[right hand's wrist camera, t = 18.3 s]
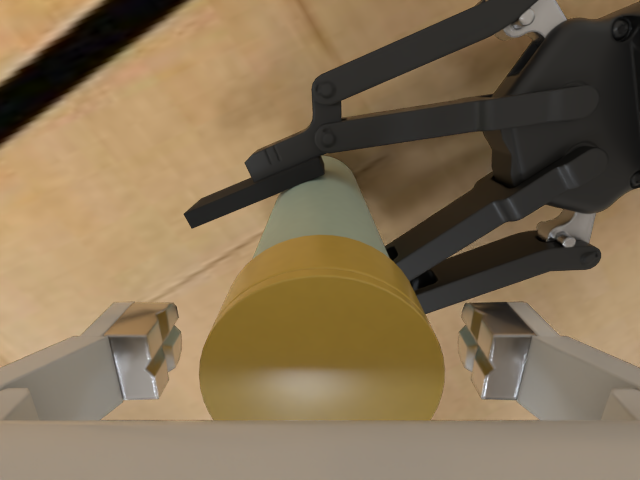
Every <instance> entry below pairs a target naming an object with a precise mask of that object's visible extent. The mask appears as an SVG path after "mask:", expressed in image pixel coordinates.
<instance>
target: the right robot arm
mask: <svg viewBox="0 0 640 480" xmlns="http://www.w3.org/2000/svg"><path fill="white" fill-rule="evenodd" d="M178 318H179V317H178V311H177V306H176V305H175V304H174V303H162V302H115V303H113V304H112V305H111V306H110V307H109V308H108V309H107V310H106V311H105V312H104V313H103V314H102V315H101V316H100V317H99V318H98V319H97V320H95V321H94V322H93V323H92V324H91V325H90V326H89V327H88V328H87V329H86V330H85V331H84V332H83V333H82V334H81V335H80V336H73V337H70V338H68V339H66V340H63V341H61V342H59V343H56V344H54V345H52V346H49V347H47V348H45V349H42V350H40V351H38V352H36V353H33V354H31V355H29V356H26V357H24V358H22V359H19V360H17V361H15V362H12V363H10V364H8V365H5V366H3V367H1V368H0V480H640V368H639V367H637V366H634V365H632V364H630V363H627V362H625V361H623V360H621V359H618V358H616V357H614V356H611V355H609V354H607V353H604V352H602V351H600V350H597V349H595V348H593V347H591V346H588V345H586V344H584V343H581V342H579V341H577V340H574V339H572V338H570V337H567V336H560V335H559V334H558V333H557V332H556V331H555V330H554V329H553V328H552V327H551V326H550V325H549V324H548V323H547V322H546V321H545V320H544V319H543V318H542V317H541V316H540V315H539V314H538V313H536V312H535V311H534V310H533V309H532V308H531V307H530V306H529V305H528V304H527V303H525V302H490V303H466V304H465V305H464V307H463V311H462V316H461V318H462V319H463V321H464V322H465V324H466V325H465V326H464V327H463V328H462V329H461V330H460V331H459V337H458V351H459V356H460V359H461V362H462V364H463V366H464V367H465V368H466V369H468V370H469V371H471V372H472V376H471V381H472V383H473V384H474V386H475V388H476V390H477V392H478V394H479V396H480V397H481V399H496V400H517V402H518V403H519V404H520V405H522V406H523V407H524V408H525V409H527V410H528V411H529V412H531V413H532V414H533V415H534V416H536V417H537V418H538V419H540V420H101V419H102V418H103V417H104V416H106V415H107V414H108V413H110V412H111V411H112V410H113V409H115V408H116V407H117V406H119V405H120V404H121V403H122V402H123V400H143V399H159V397H160V396H161V394H162V392H163V390H164V388H165V386H166V384H167V383H168V381H169V376H168V372H169V371H171V370H172V369H174V368H175V367H176V366H177V364H178V362H179V360H180V355H181V351H182V336H181V331H180V330H179V329H178V328H177V327H176V326H175V325H174V324H175V322H176V321H177V319H178Z"/></svg>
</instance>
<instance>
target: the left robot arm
mask: <svg viewBox="0 0 640 480" xmlns="http://www.w3.org/2000/svg"><path fill="white" fill-rule="evenodd" d="M494 34H495V36H496V37H497V38H498V39H500V40H504V41H506V40H511V39H514V38H518V37H521V36H523V35H526V36H528V37H530V38H531V39H532V40H533V41H532V42H531V43H530V45H529V46H528V48H527V49H526V50H525V52H524V53H523V54H522V56H521V57H520V58H519V60H518V61H517V63H516V64H515V65H514V67H513V68H512V69H511V71H510V72H509V74H508V75H507V76H506V78H505V79H504V80H503V82H502V83H501V85H500V86H499V87H498V89H497V90H496V91H495V93H494V94H488V95H482V96H476V97H469V98H463V99H458V100H454V101H448V102H441V103H435V104H428V105H422V106H415V107H409V108H403V109H396V110H390V111H383V112H377V113H370V114H364V115H358V116H351V117H345V118H341V100H344V99H346V98H348V97H351V96H353V95H355V94H358V93H360V92H362V91H365V90H367V89H369V88H372V87H374V86H376V85H379V84H381V83H383V82H386V81H388V80H390V79H393V78H395V77H397V76H400V75H402V74H404V73H406V72H409V71H411V70H413V69H416V68H418V67H420V66H423V65H425V64H427V63H430V62H432V61H434V60H437V59H439V58H441V57H444V56H446V55H448V54H451V53H453V52H455V51H458V50H460V49H462V48H465V47H467V46H469V45H472V44H474V43H476V42H478V41H481V40H483V39H485V38H488V37H490V36H492V35H494ZM312 106H313V119H312V122H311V124H310V125H309V126H308V127H307V128H306V129H304V130H303V131H300V132H298V133H296V134H293V135H291V136H289V137H286V138H284V139H282V140H279V141H277V142H275V143H272V144H270V145H268V146H265V147H263V148H261V149H258V150H257V151H256V152H255V153H253V154H252V155H251V156H250V157H249V158H248V160H247V161H246V162H245V165H246V167H247V169H248V171H249V173H250V175H251V177H252V178H249V179H247V180H244V181H242V182H240V183H237V184H235V185H232V186H230V187H228V188H225V189H223V190H221V191H218V192H216V193H213V194H211V195H209V196H206V197H204V198H201V199H200V200H199V201H198V202H197V203H196V204H194V205H193V206H192V207H191V208H190V209H189V210H188V211H186V212H185V213H184V216H185V217H186V219H187V221H188V223H189V225H190V226H191V228H195V227H197V226H200V225H202V224H204V223H207V222H209V221H212V220H214V219H217V218H219V217H222V216H224V215H226V214H229V213H231V212H234V211H236V210H239V209H241V208H244V207H246V206H249V205H251V204H253V203H256V202H258V201H261V200H263V199H266V198H268V197H271V196H273V195H275V194H278V193H280V192H283V191H285V190H288V189H290V188H293V187H295V186H297V185H300V184H302V183H305V182H307V181H310V180H312V179H315V178H317V177H319V176H322V175H324V174H325V167H324V162H323V159H322V157H321V155H324V154H326V153H335V152H342V151H348V150H355V149H362V148H368V147H375V146H382V145H388V144H395V143H402V142H408V141H415V140H421V139H428V138H435V137H441V136H448V135H455V134H461V133H468V132H475V131H483V133H484V136H485V138H486V140H487V141H488V143H489V145H490V146H491V148H492V169H493V172H491V173H489V174H488V175H486V176H485V177H483V178H482V179H480V180H479V181H478V182H477V183H476V184H475V186H474V188H473V189H472V190H471V191H469V192H468V193H466V194H464V195H463V196H461V197H460V198H458V199H457V200H455V201H454V202H452V203H451V204H449V205H448V206H446V207H445V208H443V209H441V210H440V211H438V212H437V213H435V214H434V215H432V216H431V217H429V218H428V219H426V220H425V221H423V222H422V223H420V224H418V225H417V226H415V227H414V228H412V229H411V230H409V231H408V232H406V233H405V234H403V235H402V236H400V237H399V238H397V239H396V240H394V241H392V242H391V243H389V244H388V245H386V246H385V249H386V251H387V253H388V256H389V258H390V259H391V260H392V261H393V262H394V263H395V264H396V265H397V266H398V267H399V268H400V269H401V270H402V271H403V273H404V274H405V276H406V277H407V279H408V280H409V282H410V284H411V286H412V288H413V290H414V292H415V294H416V296H417V298H418V300H419V302H420V304H421V306H422V308H423V311H424V313H425V314H427V313H430V312H433V311H436V310H439V309H442V308H445V307H447V306H450V305H453V304H456V303H459V302H462V301H465V300H468V299H471V298H474V297H476V296H479V295H482V294H485V293H488V292H491V291H494V290H497V289H500V288H503V287H505V286H508V285H511V284H514V283H517V282H520V281H523V280H526V279H529V278H532V277H534V276H537V275H540V274H543V273H546V272H549V271H565V270H586V269H591V268H592V267H594V266H596V265H597V264H598V263H599V261H600V259H601V252H600V250H599V249H598V248H596V247H595V246H593V245H591V244H589V241H590V237H591V232H592V228H593V224H594V219H595V215H596V213H598V212H601V211H603V210H605V209H607V208H608V207H610V206H611V205H612V204H613V203H614V202H615V201H616V200H617V199H619V198H620V197H621V196H622V195H624V194H625V193H627V192H629V191H631V190H633V189H636V188H640V1H639V2H637V3H635V4H632V5H630V6H628V7H625V8H623V9H620V10H618V11H616V12H613V13H611V14H609V15H606V16H604V17H602V18H599V19H585V18H572V19H568V20H567V19H566V17H565V15H564V14H563V12H562V10H561V9H560V7H559V5H558V4H557V2H556V0H481V1H480V2H479V3H478V4H477V5H475V6H474V7H472V8H470V9H468V10H466V11H463V12H461V13H459V14H456V15H454V16H452V17H450V18H447V19H445V20H443V21H441V22H438V23H436V24H434V25H432V26H429V27H427V28H425V29H423V30H420V31H418V32H416V33H414V34H411V35H409V36H407V37H405V38H402V39H400V40H398V41H396V42H393V43H391V44H389V45H387V46H384V47H382V48H380V49H378V50H375V51H373V52H371V53H369V54H366V55H364V56H362V57H360V58H357V59H355V60H353V61H351V62H348V63H346V64H344V65H342V66H339V67H337V68H335V69H333V70H330V71H328V72H326V73H324V74H321V75H320V76H318V77H317V78H316V79H315V81H314V82H313V84H312ZM543 205H549V206H553V207H558V208H562V209H563V211H562V212H561V214H560V215H559V216H558V217H557V218H555V219H552V220H549V221H546V222H544V221H543V222H540V223H538V224H537V227H536V229H537V230H535V231H527V232H522V233H518V234H514V235H511V236H508V237H506V238H503V239H500V240H497V241H495V242H492V243H489V244H486V245H484V246H481V247H478V248H475V249H472V250H470V251H467V252H464V253H461V254H459V255H456V256H453V257H450V256H452V255H453V254H455V253H456V252H458V251H460V250H461V249H463V248H464V247H466V246H468V245H469V244H471V243H473V242H474V241H476V240H477V239H479V238H481V237H482V236H484V235H485V234H487V233H489V232H490V231H492V230H494V229H495V228H497V227H498V226H500V225H502V224H503V223H505V222H509V221H517V220H520V219H522V218H524V217H526V216H527V215H529V214H530V213H532V212H534V211H535V210H537V209H539V208H540V207H542V206H543ZM448 257H450V258H448ZM447 258H448V259H447Z"/></svg>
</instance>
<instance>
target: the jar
mask: <svg viewBox="0 0 640 480" xmlns="http://www.w3.org/2000/svg"><path fill="white" fill-rule="evenodd" d="M321 157H322V159H323V162H324V167H325V174H324V175H322V176H319V177H317V178H315V179H312V180H310V181H307V182H305V183H302V184H300V185H297V186H295V187H293V188H290V189H288V190H285V191H283V192H280V193H279V196H278V198H277V201H276V203H275V205H274V208H273V210H272V213H271V215H270V218H269V220H268V222H267V225H266V227H265V230H264V232H263V235H262V237H261V239H260V242H259V244H258V247H257V249H256V252H255V254H254V256H253V259H254V258H255V257H256V256H257V255H259V254H260V253H262V252H263V251H265V250H266V249H268V248H270V247H272V246H274V245H276V244H278V243H281V242H284V241H286V240H289V239H293V238H298V237H302V236H310V235H335V236H341V237H347V238H350V239H354V240H357V241H360V242H363V243H365V244H367V245H369V246H372V247H373V248H375V249H377V250H378V251H380V252H382V253H383V254H385V255H386V256H387V257H388V258H389V256H388V253H387V251H386V249H385V246H384V244H383V242H382V239H381V237H380V235H379V232H378V230H377V228H376V225H375V223H374V221H373V218H372V216H371V214H370V211H369V209H368V207H367V204H366V202H365V200H364V197H363V195H362V193H361V191H360V188H359V186H358V184H357V181H356V179H355V177H354V175H353V173H352V171H351V170H350V169H349V168H348V167H347V166H346V165H345V164H344V163H343V162H341V161H339V160H337V159H335V158H333V157H329V156H322V155H321Z"/></svg>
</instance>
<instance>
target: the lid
mask: <svg viewBox="0 0 640 480" xmlns="http://www.w3.org/2000/svg"><path fill="white" fill-rule="evenodd" d="M199 379H200V389H201V392H202V396H203V400H204V403H205V405H206V407H207V410H208V412H209V414H210V415H211V417H212V419H213V420H431V419H432V417H433V415H434V413H435V411H436V409H437V407H438V405H439V402H440V399H441V396H442V392H443V387H444V380H445V366H444V359H443V354H442V351H441V347H440V344H439V342H438V340H437V337H436V335H435V333H434V331H433V329H432V327H431V325H430V323H429V321H428V319H427V317H426V315H425V313H424V311H423V308H422V306H421V304H420V302H419V300H418V298H417V296H416V294H415V292H414V290H413V288H412V286H411V284H410V282H409V280H408V279H407V277H406V276H405V274H404V273H403V271H402V270H401V269H400V268H399V267H398V266H397V265H396V264H395V263H394V262H393V261H392V260H391V259H390V258H388V257H387V256H386V255H385V254H383V253H382V252H380V251H378V250H377V249H375V248H373V247H372V246H369V245H367V244H365V243H363V242H360V241H357V240H354V239H350V238H347V237H341V236H335V235H310V236H302V237H298V238H293V239H289V240H286V241H284V242H281V243H278V244H276V245H274V246H272V247H270V248H268V249H266V250H265V251H263V252H262V253H260V254H259V255H257V256H256V257H255V258H254V259H252V260H251V261H250V262H249V263H248V264H247V265H246V266H245V267H244V268H243V270H242V271H241V272H240V273H239V274H238V276H237V277H236V279H235V281H234V282H233V284H232V286H231V288H230V290H229V292H228V294H227V297H226V299H225V301H224V303H223V305H222V307H221V310H220V312H219V314H218V316H217V318H216V320H215V322H214V325H213V327H212V329H211V331H210V333H209V335H208V338H207V340H206V343H205V345H204V347H203V351H202V355H201V359H200V368H199Z"/></svg>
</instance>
